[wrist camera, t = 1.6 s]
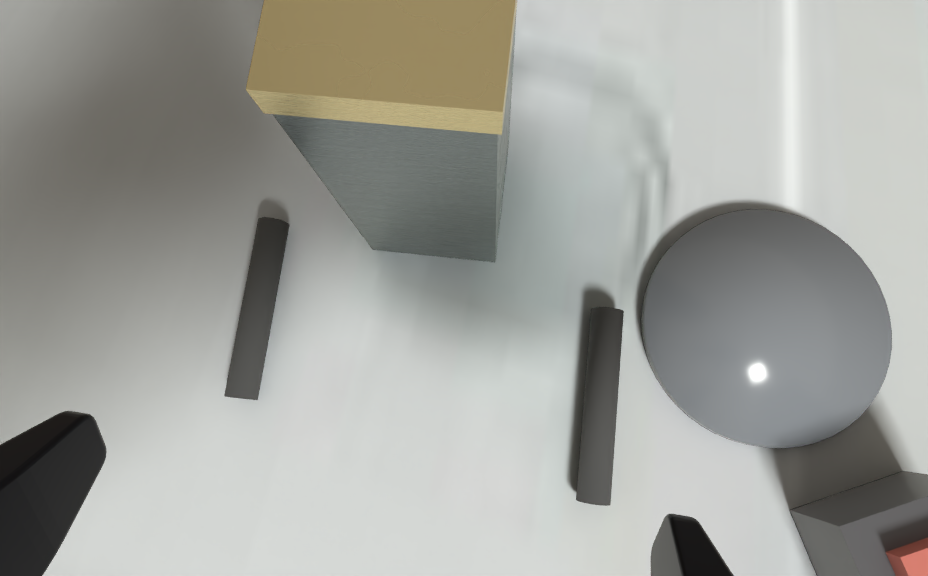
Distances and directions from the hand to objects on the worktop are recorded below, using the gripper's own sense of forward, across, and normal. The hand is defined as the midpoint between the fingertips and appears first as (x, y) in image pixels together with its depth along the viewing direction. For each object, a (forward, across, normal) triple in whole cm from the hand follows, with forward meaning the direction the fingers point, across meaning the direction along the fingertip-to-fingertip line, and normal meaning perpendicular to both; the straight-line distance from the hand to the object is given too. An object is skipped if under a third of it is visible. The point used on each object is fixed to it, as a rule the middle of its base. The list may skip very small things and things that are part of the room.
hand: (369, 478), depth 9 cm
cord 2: (+12, +8, +7) cm, 16 cm away
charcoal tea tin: (+17, +2, +3) cm, 17 cm away
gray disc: (+14, -11, +6) cm, 19 cm away
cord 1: (+11, -6, +8) cm, 15 cm away
